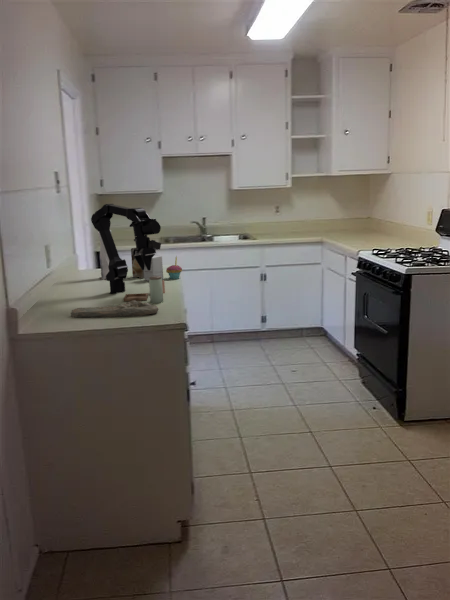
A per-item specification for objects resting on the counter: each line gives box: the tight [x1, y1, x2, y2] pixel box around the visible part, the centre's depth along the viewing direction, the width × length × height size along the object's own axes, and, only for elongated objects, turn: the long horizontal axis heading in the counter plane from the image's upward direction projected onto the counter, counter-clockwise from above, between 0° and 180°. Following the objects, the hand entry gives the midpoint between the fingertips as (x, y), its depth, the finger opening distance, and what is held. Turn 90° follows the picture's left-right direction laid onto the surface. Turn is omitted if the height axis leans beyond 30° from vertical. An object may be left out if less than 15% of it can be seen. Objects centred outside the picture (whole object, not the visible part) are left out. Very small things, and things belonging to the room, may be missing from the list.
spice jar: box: [148, 276, 164, 304], centre depth 248 cm, size 6×6×11 cm
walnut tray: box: [123, 292, 149, 303], centre depth 255 cm, size 10×10×2 cm
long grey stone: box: [70, 300, 159, 318], centre depth 229 cm, size 35×5×10 cm
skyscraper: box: [97, 229, 112, 281], centre depth 311 cm, size 8×8×28 cm
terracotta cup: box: [162, 279, 166, 294], centre depth 267 cm, size 6×6×6 cm
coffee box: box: [130, 247, 145, 279], centre depth 313 cm, size 9×6×16 cm
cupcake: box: [166, 255, 183, 280], centre depth 305 cm, size 9×8×12 cm
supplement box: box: [144, 255, 164, 282], centre depth 303 cm, size 7×7×13 cm
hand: (146, 270), depth 259 cm, fingers open, 9 cm apart
